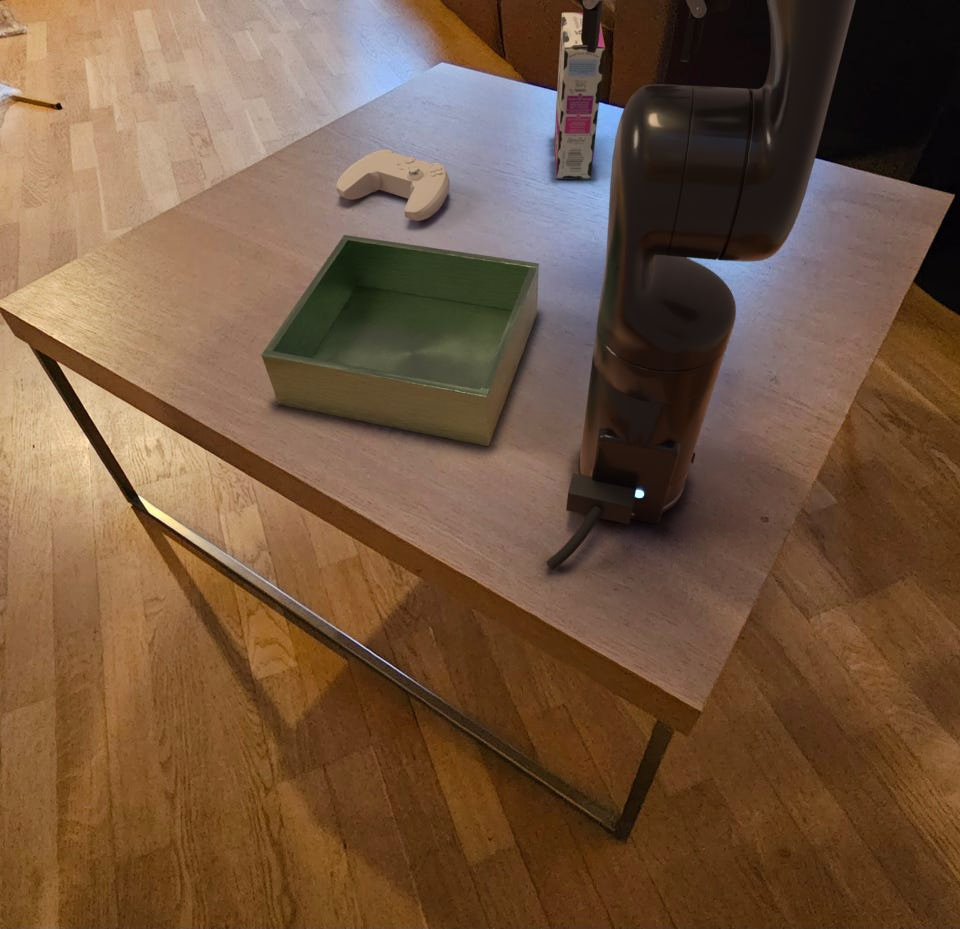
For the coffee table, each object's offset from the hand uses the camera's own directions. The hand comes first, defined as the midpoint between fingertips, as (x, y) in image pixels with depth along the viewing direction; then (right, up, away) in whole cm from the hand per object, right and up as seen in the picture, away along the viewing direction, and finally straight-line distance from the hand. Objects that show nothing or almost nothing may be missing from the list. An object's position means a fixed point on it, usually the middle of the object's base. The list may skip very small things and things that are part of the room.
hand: (638, 53), depth 67 cm
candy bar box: (-2, +4, +33) cm, 33 cm away
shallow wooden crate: (-21, -27, +8) cm, 35 cm away
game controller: (-25, -3, +28) cm, 38 cm away
